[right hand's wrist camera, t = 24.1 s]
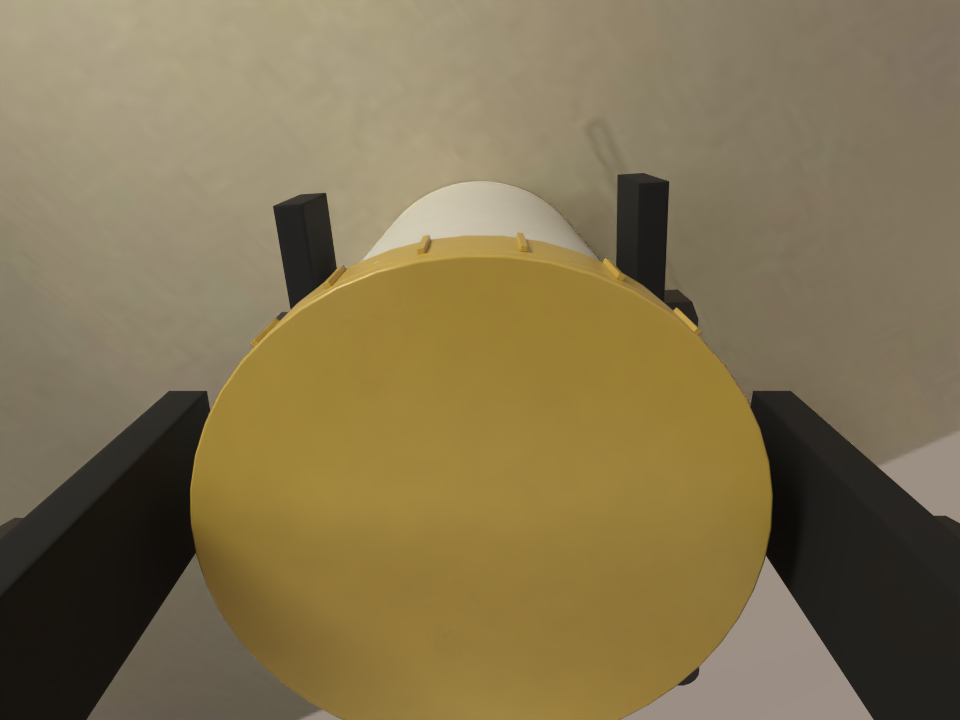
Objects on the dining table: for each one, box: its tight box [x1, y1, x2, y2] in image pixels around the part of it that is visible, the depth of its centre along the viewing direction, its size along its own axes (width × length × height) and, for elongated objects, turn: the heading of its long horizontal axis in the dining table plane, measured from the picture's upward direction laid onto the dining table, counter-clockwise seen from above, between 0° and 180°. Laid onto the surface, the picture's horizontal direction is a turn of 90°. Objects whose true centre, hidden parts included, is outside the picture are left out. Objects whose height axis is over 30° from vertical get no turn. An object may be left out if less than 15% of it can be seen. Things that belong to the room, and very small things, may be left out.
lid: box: [190, 232, 773, 720], centre depth 11 cm, size 9×9×2 cm
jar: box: [362, 181, 600, 261], centre depth 18 cm, size 9×9×15 cm
